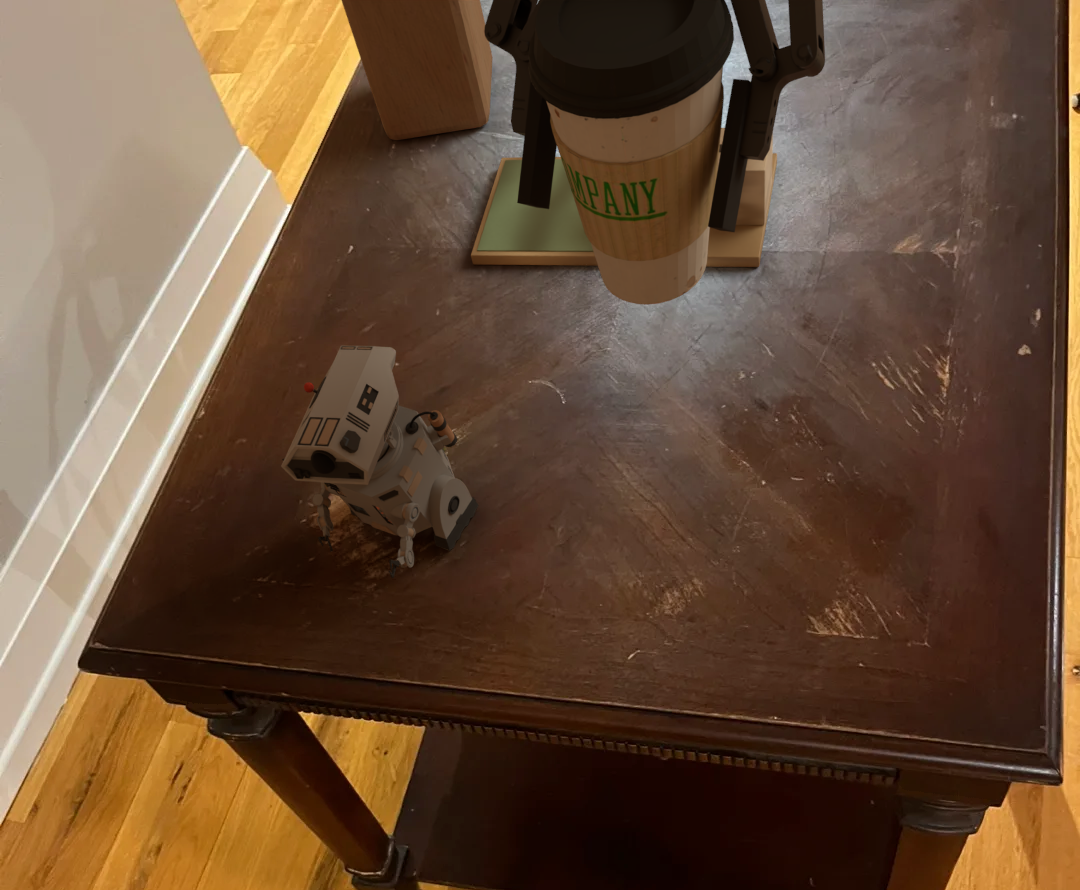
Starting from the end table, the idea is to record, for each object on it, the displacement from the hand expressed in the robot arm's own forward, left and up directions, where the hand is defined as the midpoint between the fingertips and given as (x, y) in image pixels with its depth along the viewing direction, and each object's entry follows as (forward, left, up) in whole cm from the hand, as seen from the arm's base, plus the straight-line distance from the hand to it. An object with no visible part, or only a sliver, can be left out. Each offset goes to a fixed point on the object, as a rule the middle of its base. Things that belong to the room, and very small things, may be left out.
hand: (624, 217), depth 57 cm
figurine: (+19, -3, -24) cm, 31 cm away
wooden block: (+7, -51, -24) cm, 57 cm away
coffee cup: (-2, -3, -6) cm, 7 cm away
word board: (-5, -29, -24) cm, 38 cm away
